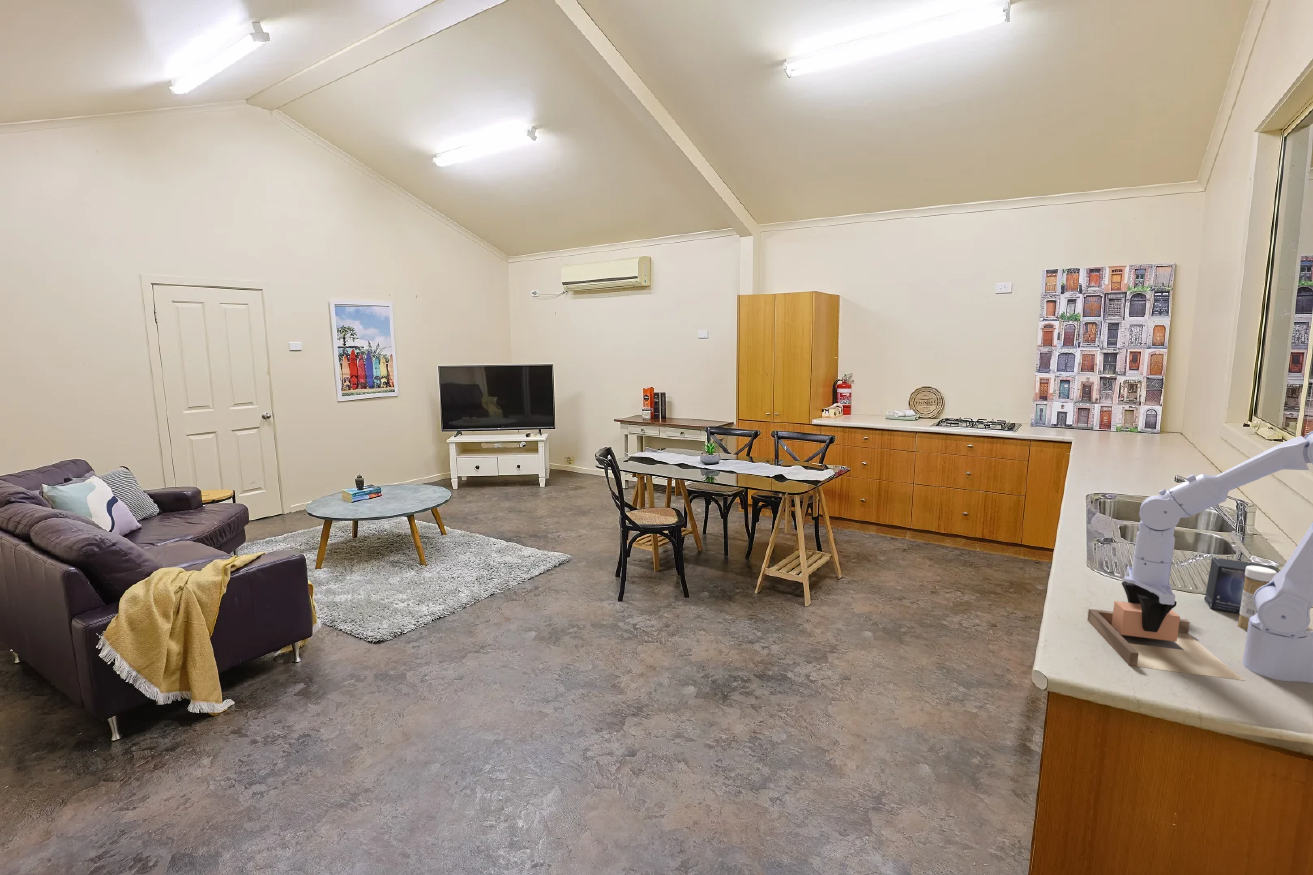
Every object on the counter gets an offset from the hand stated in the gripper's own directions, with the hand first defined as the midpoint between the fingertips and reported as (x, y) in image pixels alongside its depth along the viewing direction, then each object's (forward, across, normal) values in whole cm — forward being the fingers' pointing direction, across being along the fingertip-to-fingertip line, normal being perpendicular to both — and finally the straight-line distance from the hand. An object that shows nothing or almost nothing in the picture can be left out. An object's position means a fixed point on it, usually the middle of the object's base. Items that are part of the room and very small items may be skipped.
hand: (1143, 625), depth 120 cm
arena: (+4, +4, +1) cm, 5 cm away
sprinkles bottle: (+4, -12, +24) cm, 28 cm away
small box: (+4, -24, +28) cm, 38 cm away
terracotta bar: (+2, 0, 0) cm, 2 cm away
